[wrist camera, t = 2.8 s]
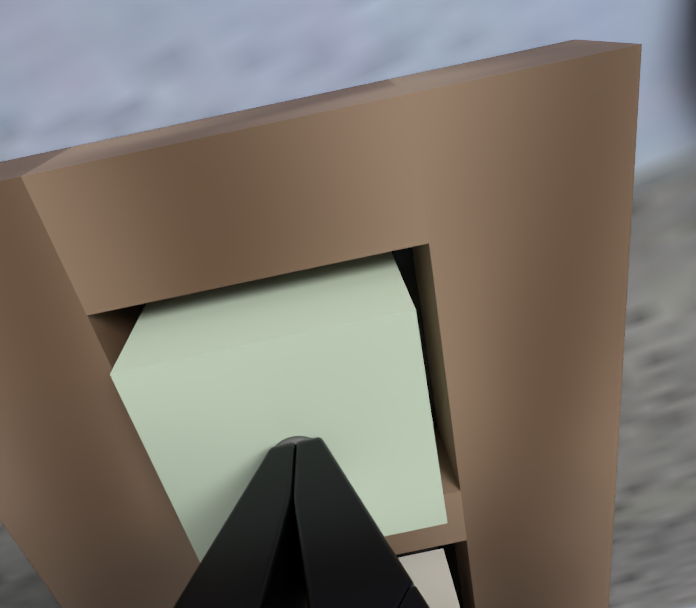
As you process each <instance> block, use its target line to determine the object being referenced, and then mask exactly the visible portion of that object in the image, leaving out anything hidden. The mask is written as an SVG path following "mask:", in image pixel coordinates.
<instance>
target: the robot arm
mask: <svg viewBox="0 0 696 608" xmlns="http://www.w3.org/2000/svg"><path fill="white" fill-rule="evenodd" d="M173 608H430V607H429V606H428V604H427V603H426V601H425V599H424V598H423V596H422V595H421V593H420V592H419V590H418V588H417V587H416V586H414V583H413V581H412V579H411V578H410V576H409V575H408V573H407V572H406V570H405V568H404V567H403V565H402V564H401V562H400V560H399V559H398V557H397V556H396V554H395V553H394V551H393V549H392V548H391V546H390V545H389V543H388V541H387V540H386V538H385V537H384V535H383V534H382V532H381V530H380V529H379V527H378V526H377V524H376V523H375V521H374V519H373V518H372V516H371V515H370V513H369V511H368V510H367V508H366V507H365V505H364V504H363V502H362V500H361V499H360V497H359V496H358V494H357V492H356V491H355V489H354V488H353V486H352V485H351V483H350V481H349V480H348V478H347V477H346V475H345V474H344V472H343V470H342V469H341V467H340V466H339V464H338V462H337V461H336V459H335V458H334V456H333V455H332V453H331V451H330V450H329V448H328V447H327V445H326V443H325V442H324V440H323V439H322V438H320V437H316V438H312V439H307V440H302V441H299V442H298V443H297V445H296V444H295V443H288V444H283V445H278V446H274V447H272V448H271V449H269V451H268V452H267V454H266V456H265V457H264V459H263V461H262V462H261V464H260V465H259V467H258V469H257V470H256V472H255V474H254V475H253V477H252V479H251V480H250V482H249V484H248V485H247V487H246V488H245V490H244V492H243V493H242V495H241V497H240V498H239V500H238V502H237V503H236V505H235V507H234V508H233V510H232V511H231V513H230V515H229V516H228V518H227V520H226V521H225V523H224V525H223V526H222V528H221V530H220V531H219V533H218V534H217V536H216V538H215V539H214V541H213V543H212V544H211V546H210V548H209V549H208V551H207V553H206V554H205V556H204V557H203V559H202V561H201V562H200V564H199V566H198V567H197V569H196V571H195V572H194V574H193V576H192V577H191V579H190V580H189V582H188V584H187V585H186V587H185V589H184V590H183V592H182V594H181V595H180V597H179V599H178V600H177V602H176V603H175V605H174V607H173Z"/></svg>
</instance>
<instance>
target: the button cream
mask: <svg viewBox="0 0 696 608" xmlns="http://www.w3.org/2000/svg"><path fill="white" fill-rule="evenodd" d="M398 559H399V560H400V562H401V564H402V565H403V567H404V568H405V570H406V572H407V573H408V575H409V576H410V578H411V579H412V581H413V583H414V586H416V587H417V588H418V590H419V592H420V593H421V595H422V596H423V598H424V599H425V601H426V603H427V604H428V606H429V607H430V608H460V605H459V602H458V598H457V595H456V591H455V588H454V584H453V581H452V577H451V574H450V570H449V567H448V563H447V560H446V556H445V553H444V549H443V548H442V549H437V550H432V551H428V552H423V553H418V554H413V555H408V556H404V557H399V558H398Z"/></svg>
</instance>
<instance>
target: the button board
mask: <svg viewBox="0 0 696 608" xmlns="http://www.w3.org/2000/svg"><path fill="white" fill-rule="evenodd" d="M641 47H642V44H632V43H617V42H602V41H588V40H571V41H566V42H562V43H557V44H552V45H548V46H543V47H538V48H534V49H529V50H524V51H520V52H515V53H510V54H505V55H501V56H496V57H491V58H487V59H482V60H477V61H473V62H468V63H463V64H459V65H454V66H449V67H444V68H440V69H435V70H430V71H426V72H421V73H416V74H412V75H407V76H402V77H398V78H393V79H388V80H384V81H379V82H374V83H369V84H365V85H360V86H355V87H351V88H346V89H341V90H337V91H332V92H327V93H323V94H318V95H313V96H308V97H304V98H299V99H294V100H290V101H285V102H280V103H276V104H271V105H266V106H262V107H257V108H252V109H247V110H243V111H238V112H233V113H229V114H224V115H219V116H215V117H210V118H205V119H201V120H196V121H191V122H186V123H182V124H177V125H172V126H168V127H163V128H158V129H154V130H149V131H144V132H140V133H135V134H130V135H126V136H121V137H116V138H111V139H107V140H102V141H97V142H93V143H88V144H83V145H79V146H74V147H69V148H65V149H60V150H55V151H50V152H46V153H41V154H36V155H32V156H27V157H22V158H18V159H13V160H8V161H4V162H0V521H1V522H2V524H3V525H4V526H5V528H6V529H7V531H8V532H9V534H10V535H11V536H12V538H13V539H14V541H15V542H16V543H17V545H18V546H19V548H20V549H21V551H22V552H23V553H24V555H25V556H26V558H27V559H28V560H29V562H30V563H31V565H32V566H33V568H34V569H35V570H36V572H37V573H38V575H39V576H40V578H41V579H42V580H43V582H44V583H45V585H46V586H47V587H48V589H49V590H50V592H51V593H52V595H53V596H54V597H55V599H56V600H57V602H58V603H59V605H60V606H61V607H62V608H173V607H174V605H175V603H176V602H177V600H178V599H179V597H180V595H181V594H182V592H183V590H184V589H185V587H186V585H187V584H188V582H189V580H190V579H191V577H192V576H193V574H194V572H195V571H196V569H197V567H198V566H199V564H200V561H199V559H198V557H197V555H196V553H195V551H194V549H193V547H192V545H191V543H190V540H189V538H188V536H187V534H186V532H185V530H184V528H183V526H182V524H181V522H180V520H179V518H178V515H177V513H176V511H175V509H174V507H173V505H172V503H171V501H170V499H169V497H168V495H167V493H166V491H165V488H164V486H163V484H162V482H161V480H160V478H159V476H158V474H157V472H156V470H155V468H154V466H153V463H152V461H151V459H150V457H149V455H148V453H147V451H146V449H145V447H144V445H143V443H142V441H141V439H140V436H139V434H138V432H137V430H136V428H135V426H134V424H133V422H132V420H131V418H130V416H129V414H128V411H127V409H126V407H125V405H124V403H123V401H122V399H121V397H120V395H119V393H118V391H117V389H116V387H115V384H114V382H113V380H112V378H111V376H110V373H111V371H112V369H113V367H114V365H115V363H116V361H117V359H118V357H119V355H120V353H121V352H122V350H123V348H124V346H125V344H126V342H127V340H128V338H129V336H130V334H131V332H132V330H133V328H134V326H135V324H136V322H137V320H138V318H139V316H140V315H141V310H140V308H139V304H144V303H149V302H153V301H158V300H163V299H168V298H172V297H177V296H182V295H186V294H191V293H196V292H201V291H205V290H210V289H215V288H220V287H224V286H229V285H234V284H239V283H243V282H248V281H253V280H257V279H262V278H267V277H272V276H276V275H281V274H286V273H291V272H295V271H300V270H305V269H310V268H314V267H319V266H324V265H328V264H333V263H338V262H343V261H347V260H352V259H357V258H362V257H366V256H371V255H376V254H381V253H385V252H390V251H395V250H399V249H404V248H409V247H412V253H413V260H414V267H415V274H416V281H417V288H418V295H419V302H420V309H421V316H422V323H423V330H424V337H425V343H426V350H427V357H428V364H429V371H430V378H431V385H432V392H433V399H434V406H435V413H436V420H437V427H434V435H435V442H436V448H437V455H438V462H439V469H440V475H441V482H442V489H443V495H444V502H445V509H446V516H447V522H448V523H446V524H442V525H437V526H432V527H427V528H422V529H417V530H413V531H408V532H403V533H398V534H393V535H389V536H384V537H385V538H386V540H387V541H388V543H389V545H390V546H391V548H392V549H393V551H394V553H395V554H396V555H398V554H402V553H407V552H412V551H417V550H422V549H427V548H431V547H436V546H441V545H446V544H451V543H454V545H455V552H456V559H457V566H458V573H459V580H460V587H461V594H462V601H463V608H609V592H610V575H611V558H612V541H613V524H614V507H615V490H616V473H617V456H618V439H619V422H620V405H621V388H622V371H623V353H624V336H625V319H626V302H627V285H628V268H629V251H630V234H631V217H632V200H633V183H634V166H635V149H636V132H637V115H638V98H639V81H640V64H641Z"/></svg>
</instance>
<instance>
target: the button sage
mask: <svg viewBox="0 0 696 608" xmlns="http://www.w3.org/2000/svg"><path fill="white" fill-rule="evenodd" d="M110 376H111V378H112V380H113V382H114V384H115V387H116V389H117V391H118V393H119V395H120V397H121V399H122V401H123V403H124V405H125V407H126V409H127V411H128V414H129V416H130V418H131V420H132V422H133V424H134V426H135V428H136V430H137V432H138V434H139V436H140V439H141V441H142V443H143V445H144V447H145V449H146V451H147V453H148V455H149V457H150V459H151V461H152V463H153V466H154V468H155V470H156V472H157V474H158V476H159V478H160V480H161V482H162V484H163V486H164V488H165V491H166V493H167V495H168V497H169V499H170V501H171V503H172V505H173V507H174V509H175V511H176V513H177V515H178V518H179V520H180V522H181V524H182V526H183V528H184V530H185V532H186V534H187V536H188V538H189V540H190V543H191V545H192V547H193V549H194V551H195V553H196V555H197V557H198V559H199V561H200V562H201V561H202V559H203V557H204V556H205V554H206V553H207V551H208V549H209V548H210V546H211V544H212V543H213V541H214V539H215V538H216V536H217V534H218V533H219V531H220V530H221V528H222V526H223V525H224V523H225V521H226V520H227V518H228V516H229V515H230V513H231V511H232V510H233V508H234V507H235V505H236V503H237V502H238V500H239V498H240V497H241V495H242V493H243V492H244V490H245V488H246V487H247V485H248V484H249V482H250V480H251V479H252V477H253V475H254V474H255V472H256V470H257V469H258V467H259V465H260V464H261V462H262V461H263V459H264V457H265V456H266V454H267V452H268V451H269V449H271V448H272V447H274V446H278V445H283V444H288V443H295V444H296V445H297V443H298V442H299V441H302V440H307V439H312V438H316V437H320V438H322V439H323V440H324V442H325V443H326V445H327V447H328V448H329V450H330V451H331V453H332V455H333V456H334V458H335V459H336V461H337V462H338V464H339V466H340V467H341V469H342V470H343V472H344V474H345V475H346V477H347V478H348V480H349V481H350V483H351V485H352V486H353V488H354V489H355V491H356V492H357V494H358V496H359V497H360V499H361V500H362V502H363V504H364V505H365V507H366V508H367V510H368V511H369V513H370V515H371V516H372V518H373V519H374V521H375V523H376V524H377V526H378V527H379V529H380V530H381V532H382V534H383V535H384V536H389V535H393V534H398V533H403V532H408V531H413V530H417V529H422V528H427V527H432V526H437V525H442V524H446V523H448V522H447V516H446V509H445V502H444V495H443V489H442V482H441V475H440V469H439V462H438V455H437V448H436V442H435V435H434V428H433V421H432V415H431V408H430V401H429V394H428V388H427V381H426V374H425V367H424V361H423V354H422V347H421V340H420V334H419V327H418V320H417V313H416V309H415V307H414V304H413V302H412V300H411V297H410V295H409V293H408V290H407V288H406V286H405V283H404V281H403V279H402V276H401V274H400V272H399V269H398V267H397V265H396V262H395V260H394V258H393V255H392V253H391V251H390V252H385V253H381V254H376V255H371V256H366V257H362V258H357V259H352V260H347V261H343V262H338V263H333V264H328V265H324V266H319V267H314V268H310V269H305V270H300V271H295V272H291V273H286V274H281V275H276V276H272V277H267V278H262V279H257V280H253V281H248V282H243V283H239V284H234V285H229V286H224V287H220V288H215V289H210V290H205V291H201V292H196V293H191V294H186V295H182V296H177V297H172V298H168V299H163V300H158V301H153V302H149V303H146V305H145V307H144V309H143V311H142V313H141V315H140V316H139V318H138V320H137V322H136V324H135V326H134V328H133V330H132V332H131V334H130V336H129V338H128V340H127V342H126V344H125V346H124V348H123V350H122V352H121V353H120V355H119V357H118V359H117V361H116V363H115V365H114V367H113V369H112V371H111V373H110Z"/></svg>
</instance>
